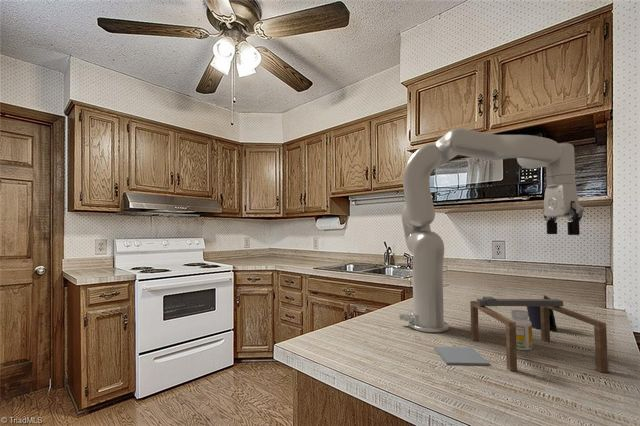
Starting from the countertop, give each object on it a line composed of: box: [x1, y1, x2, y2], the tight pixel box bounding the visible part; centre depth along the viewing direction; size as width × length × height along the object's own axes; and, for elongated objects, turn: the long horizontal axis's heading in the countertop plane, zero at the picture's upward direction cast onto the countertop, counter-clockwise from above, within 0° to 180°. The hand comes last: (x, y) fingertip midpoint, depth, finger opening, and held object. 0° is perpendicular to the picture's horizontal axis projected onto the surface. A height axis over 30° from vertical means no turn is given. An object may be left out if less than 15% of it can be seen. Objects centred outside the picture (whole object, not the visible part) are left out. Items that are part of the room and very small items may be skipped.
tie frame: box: [469, 300, 609, 374], centre depth 83 cm, size 22×21×11 cm
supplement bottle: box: [509, 309, 533, 351], centre depth 88 cm, size 5×5×10 cm
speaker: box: [526, 295, 558, 333], centre depth 104 cm, size 8×6×10 cm
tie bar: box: [476, 296, 564, 308], centre depth 88 cm, size 22×3×2 cm, turn 87°
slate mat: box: [433, 346, 491, 366], centre depth 82 cm, size 10×10×1 cm
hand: (562, 234), depth 104 cm, fingers open, 9 cm apart
